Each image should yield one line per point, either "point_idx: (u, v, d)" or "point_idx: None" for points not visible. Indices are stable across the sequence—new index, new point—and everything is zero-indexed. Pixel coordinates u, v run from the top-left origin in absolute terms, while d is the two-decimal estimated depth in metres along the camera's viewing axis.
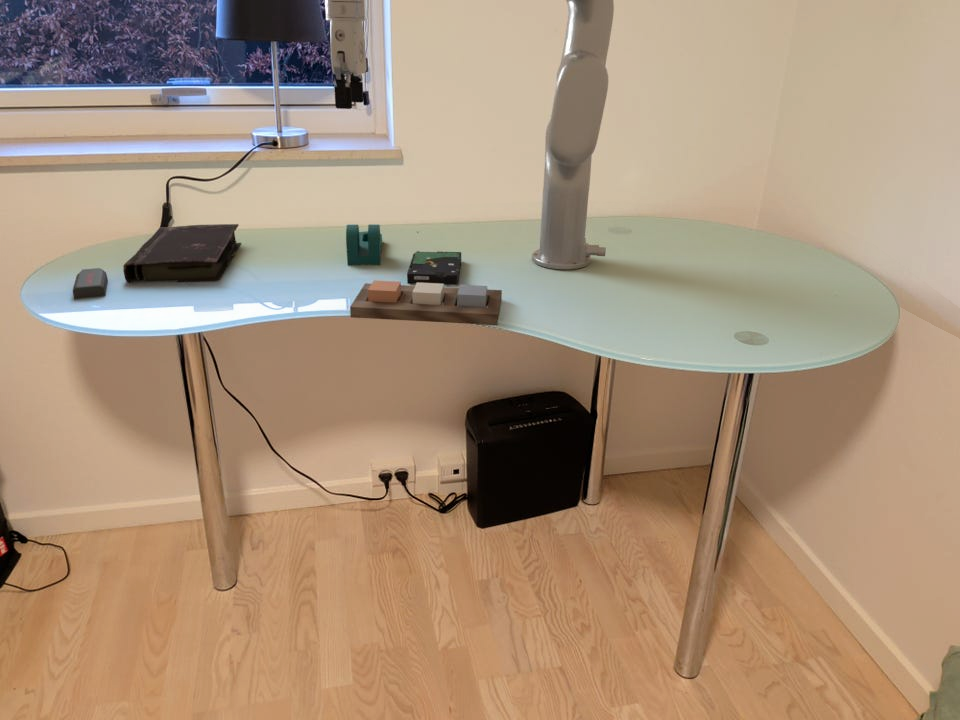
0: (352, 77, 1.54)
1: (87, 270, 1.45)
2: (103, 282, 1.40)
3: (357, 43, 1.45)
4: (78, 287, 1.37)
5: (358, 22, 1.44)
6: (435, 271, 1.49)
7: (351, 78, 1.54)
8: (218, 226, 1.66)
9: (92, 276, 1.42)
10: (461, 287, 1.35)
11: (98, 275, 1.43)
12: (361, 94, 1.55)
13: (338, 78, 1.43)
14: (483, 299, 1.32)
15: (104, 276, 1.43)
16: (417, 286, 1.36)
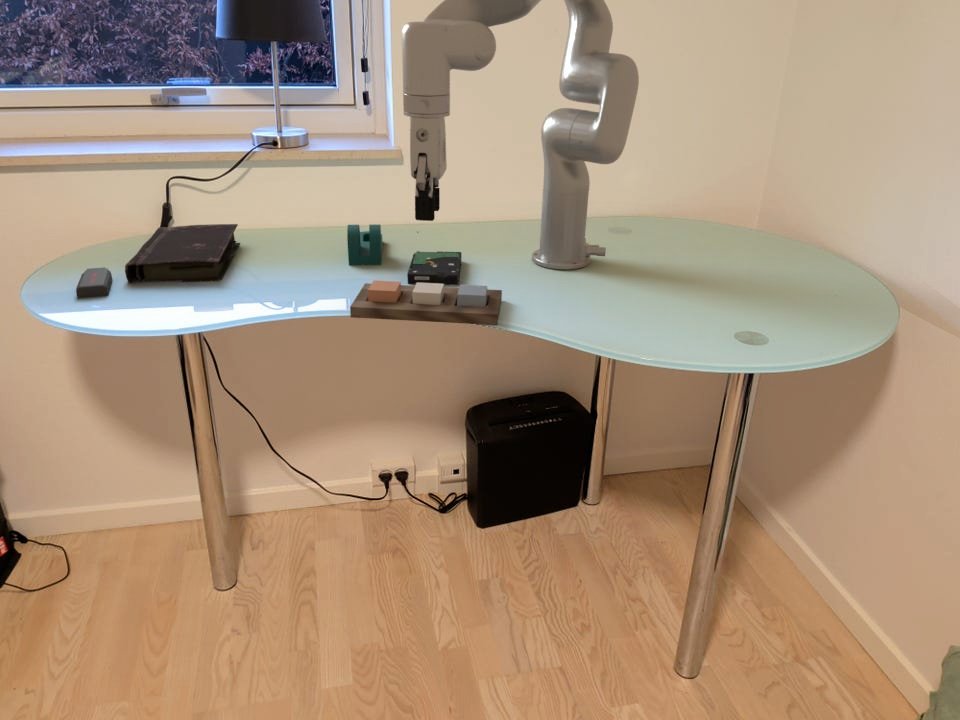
0: (427, 183, 1.30)
1: (92, 269, 1.45)
2: (106, 282, 1.41)
3: (441, 142, 1.21)
4: (81, 286, 1.37)
5: (442, 117, 1.21)
6: (436, 271, 1.49)
7: (426, 182, 1.30)
8: (217, 226, 1.66)
9: (96, 275, 1.42)
10: (461, 287, 1.35)
11: (103, 275, 1.43)
12: (437, 202, 1.31)
13: (421, 190, 1.22)
14: (483, 299, 1.32)
15: (108, 276, 1.43)
16: (417, 286, 1.36)
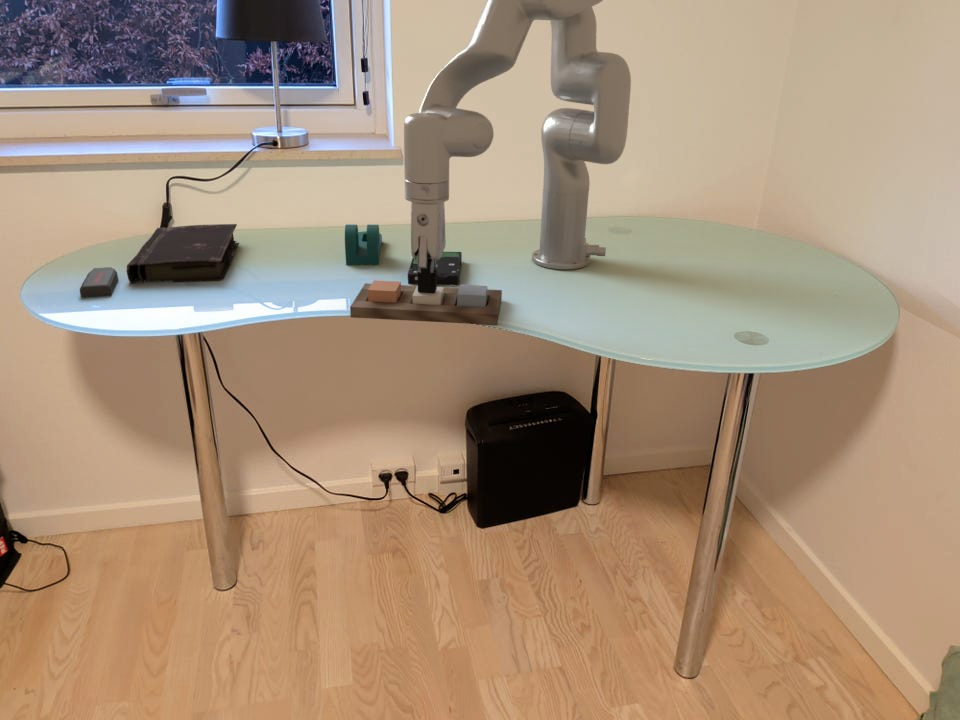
0: None
1: (98, 269, 1.45)
2: (111, 282, 1.41)
3: (441, 224, 1.27)
4: (85, 286, 1.38)
5: (441, 201, 1.27)
6: None
7: None
8: (217, 226, 1.67)
9: (102, 275, 1.43)
10: (461, 287, 1.35)
11: (108, 275, 1.43)
12: None
13: None
14: (483, 299, 1.32)
15: (113, 275, 1.44)
16: (417, 289, 1.36)
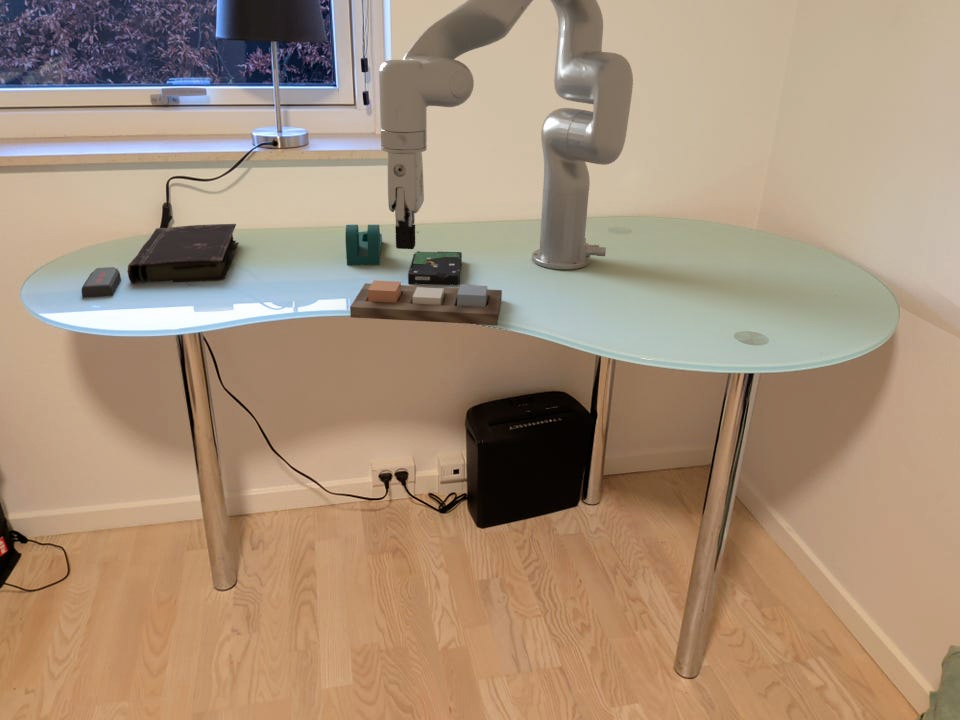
0: None
1: (101, 269, 1.46)
2: (112, 282, 1.41)
3: (418, 176, 1.24)
4: (86, 285, 1.38)
5: (419, 152, 1.24)
6: (436, 272, 1.49)
7: None
8: (216, 226, 1.67)
9: (104, 275, 1.43)
10: (461, 287, 1.35)
11: (110, 275, 1.43)
12: (413, 238, 1.31)
13: None
14: (483, 299, 1.32)
15: (116, 275, 1.44)
16: (417, 291, 1.36)
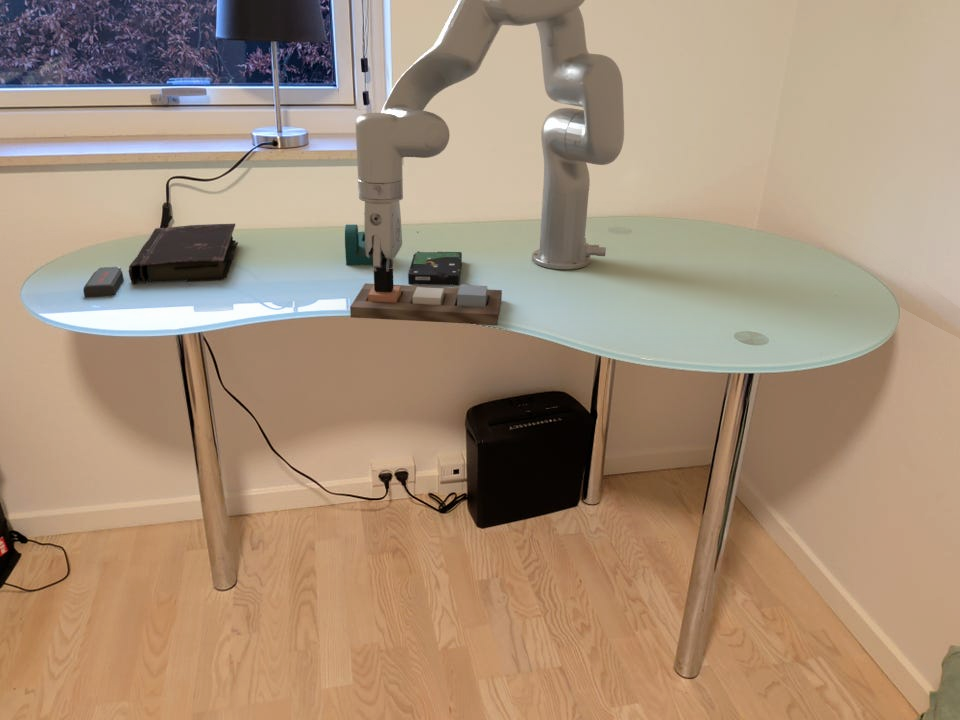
0: None
1: (104, 268, 1.46)
2: (115, 281, 1.41)
3: (395, 224, 1.28)
4: (88, 285, 1.38)
5: None
6: (436, 272, 1.49)
7: None
8: (215, 225, 1.67)
9: (106, 275, 1.43)
10: (461, 287, 1.35)
11: (112, 274, 1.43)
12: (391, 282, 1.35)
13: None
14: (483, 299, 1.32)
15: (118, 275, 1.44)
16: (417, 291, 1.36)
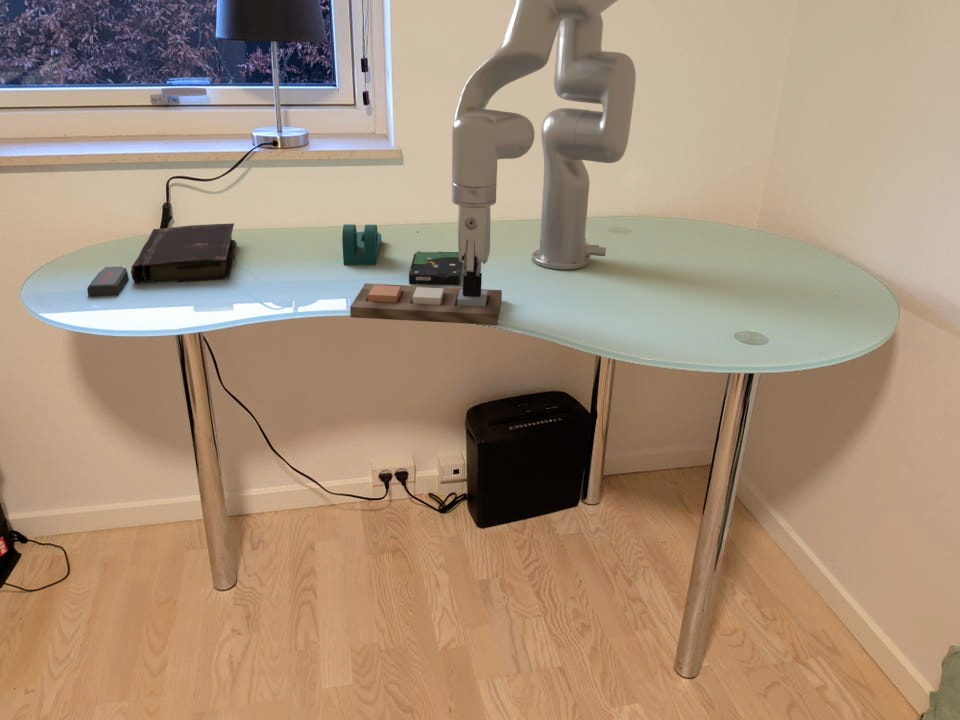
0: None
1: (109, 268, 1.46)
2: (119, 281, 1.41)
3: (488, 228, 1.27)
4: (92, 285, 1.38)
5: None
6: (437, 272, 1.49)
7: None
8: (214, 225, 1.67)
9: (111, 274, 1.43)
10: (461, 292, 1.36)
11: (117, 274, 1.43)
12: None
13: None
14: (483, 304, 1.33)
15: (123, 275, 1.44)
16: (417, 291, 1.36)
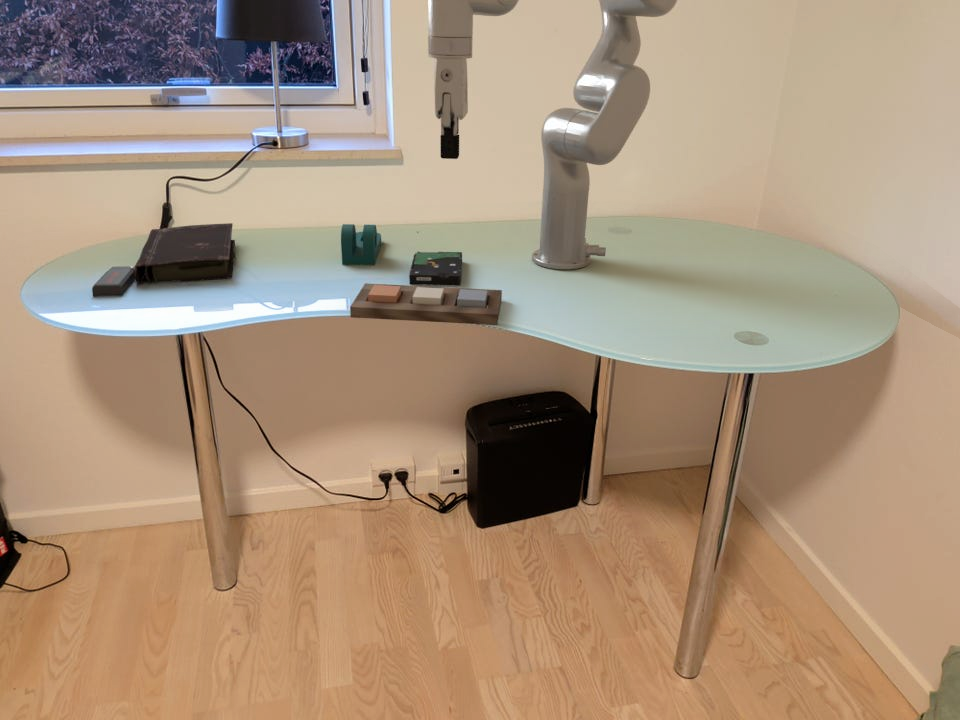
0: None
1: (116, 268, 1.46)
2: (124, 281, 1.41)
3: (464, 83, 1.28)
4: (97, 284, 1.39)
5: (465, 59, 1.27)
6: (438, 272, 1.48)
7: None
8: (212, 225, 1.67)
9: (117, 274, 1.43)
10: (461, 292, 1.36)
11: (123, 274, 1.43)
12: None
13: (447, 128, 1.31)
14: (483, 304, 1.33)
15: (129, 275, 1.44)
16: (417, 291, 1.36)
